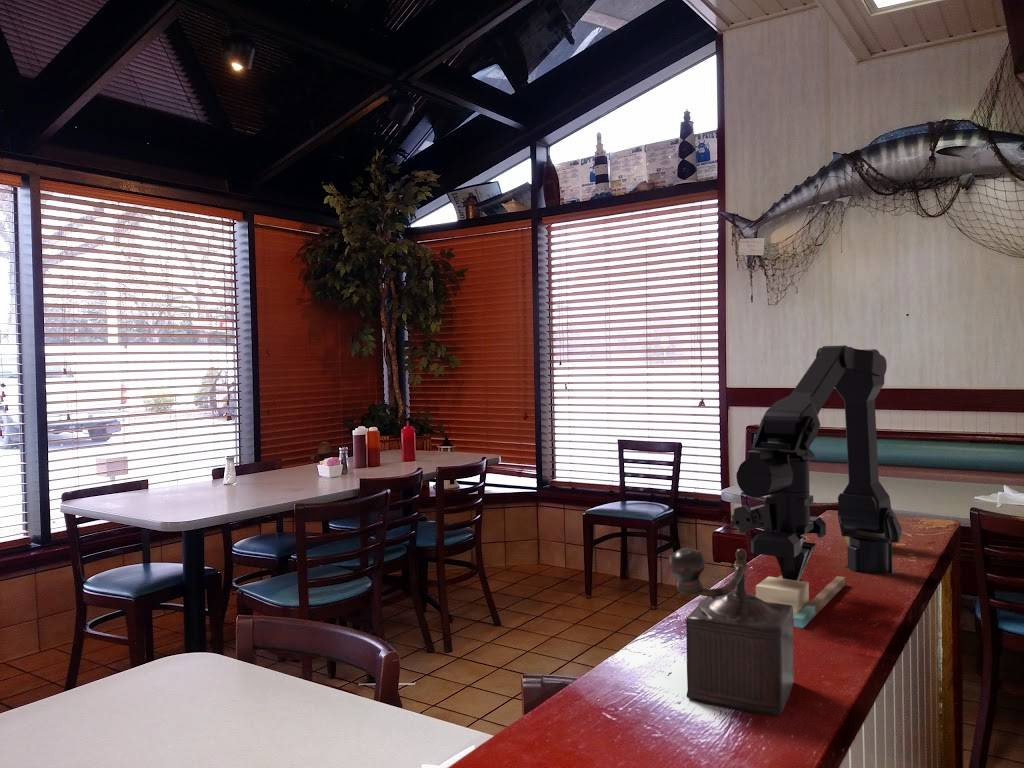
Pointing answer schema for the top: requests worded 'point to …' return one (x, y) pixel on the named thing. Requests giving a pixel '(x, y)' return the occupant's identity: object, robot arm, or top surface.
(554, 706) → the top surface
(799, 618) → the chute
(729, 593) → the dark manual coffee grinder
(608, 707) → the top surface
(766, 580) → the block
